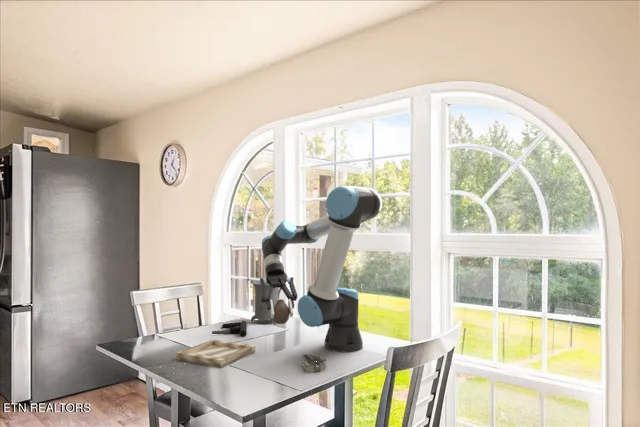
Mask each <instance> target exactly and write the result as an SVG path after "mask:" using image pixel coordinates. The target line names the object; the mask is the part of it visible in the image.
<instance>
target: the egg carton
mask: <svg viewBox="0 0 640 427" xmlns="http://www.w3.org/2000/svg"><path fill="white" fill-rule="evenodd" d="M300 357H301V365H302V364H304V365H303V368H304V367H305V368H304V369H305V370H306V371H310V372H309V373H314V372H315V371H314V370H319V371H318V372H320V371H323V370H324V371H326V370H325V369H326V368H327V364H326V362H327V359H326V358H325V357H321V355H320V354H317V355H316V354H315V353H313V354H311V353H310V354H308V353H306V354H305V353H301V354H300ZM316 361H317V362H319V363H318V364H317V362H316ZM306 371H305V372H306ZM313 371H314V372H313ZM324 371H323V372H324Z"/></svg>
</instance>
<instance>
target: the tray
mask: <svg viewBox="0 0 640 427" xmlns="http://www.w3.org/2000/svg"><path fill="white" fill-rule="evenodd" d="M254 353H256V345H253V344H247V343H238V342H232V341H226V340H218V339H211V340H207V341H205V342H201V343H200V344H197V345H194V346H192V347H189V348H186V349H182V350H180V351H178V352H176V353H175V354H176V355H175V358H176V361H181V362H187V363H193V364H196V365H197V364H198V365H204V366H208V367H209V366H210V367H215V368H220V369H221V368H224V367H226V366H230V365H231V364H234V363H236V362H237V361H240V360H242V359H243V358H246V357H248V356H251V355H252V354H254Z"/></svg>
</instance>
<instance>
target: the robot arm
mask: <svg viewBox="0 0 640 427" xmlns="http://www.w3.org/2000/svg"><path fill="white" fill-rule="evenodd" d="M325 201H326V202H325V209H326V215H324V216H321V217H320V218H317V219H314V220H313V221H311V222H308V223H307V224H304V225H295V224H294V222H292V221H289V220H283V221H281V222H280V223H279V224H278V226H276V228H275V230H274V231H273V232H272V234H270V235H267V236H266V237H263V239H262V240H261V250H262V255H263V256H262V257H263V262H264V268H265V276H266V277H265V278H262V277H261V278H259V281H260V286H261V302H266V304H267V309H268V310H270V312H271V318H274V308H273V302H272V300H270V298H271V294H272V290H273V288H276V287H279V289H280V288H281V291H283V294H284V295H285V297H286V298H287V306H288V308H289V313H290V315H289V318H293V316H294V309H295V302H296V301H297V299H298V293H297V289H296V286H295V283H294V277H293V276H291V277H288V278H287V277H286V276H285V273H286V272H285V266H284V262H283V261H284V260H283V257H282V252H283V250H284V249H285V248H286V247H287V246H288V245H295V244H297V245H298V244H308V245H309V244H313V243H316V242H318V240H319V239H320V238H322V237H325V236H327V238H326V242H325V244H324V248H323V252H322V255H321V257H320V258H321V259H320V263H319V267H318V270H317V273H316V276H315V280H314V283H312V284H310V285H309V286H308V290H307V294H305V295H303V296H301V297H300V298H299V300H298V301H297V313H298V315H299V318H300V320H301V322H302V323H303V324H305V326H307V327H309V328H316V327H321V326H324V325H328V329H327V331H326V335H325V339H324V341H323V342H324V348H325V349H327V350H329V349H330V351H333V350H335V351H334V352H342V351H348V352H355V351H360V350H361V349H363V344H364V343H363V337H362V335H361V332H360V329H359V302H360V300H359V292H358V291H357V290H356V289H353V288H345V287H338V286H339V283H340V280H341V277H342V273H343V269H344V267H345V264H346V263H345V262H346V259H347V256H348V252H349V250H350V249H349V248H350V246H351V242H352V240H353V239H352V238H353V236H354V232H356V231H358V230H359V229H360V226H361V224H362V223H365V222H367V221H369V220H372V219H374V218H376V217H377V216H378V215H379V214H380V212H381V210H382V205H383V204H382V198H381V196H380V194H379V193H378V192H377V191H376V190H374V189H373V188H370V187H360V186H354V185H353V186H351V185H339V186H336V187H335V188H333V189H332V190H331V191H330V192H329V194H328V195H327V198H326V200H325ZM286 281H287V282H286ZM266 282H267V283H268V284H269V285H270V289H269V293H268V296H267V298H266V297H265V283H266ZM285 282H286V283H287V284H288V285H289V287H288V286H287V284H286V283H285ZM289 288H290V289H289Z"/></svg>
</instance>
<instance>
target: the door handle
mask: <svg viewBox="0 0 640 427" xmlns="http://www.w3.org/2000/svg"><path fill="white" fill-rule="evenodd" d="M248 326H250V325H249V323H248V322H246V321H245V320H242V321H238V322H227V323H222V325H221V328H222V329H219V330H212V331H211V335H212V334H224V335H230V334H233V335H239V336H241V337H242V338H243V337H245V336H247V334H248V333H250V332H248V330H247V328H248ZM223 328H229V329H223Z"/></svg>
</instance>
